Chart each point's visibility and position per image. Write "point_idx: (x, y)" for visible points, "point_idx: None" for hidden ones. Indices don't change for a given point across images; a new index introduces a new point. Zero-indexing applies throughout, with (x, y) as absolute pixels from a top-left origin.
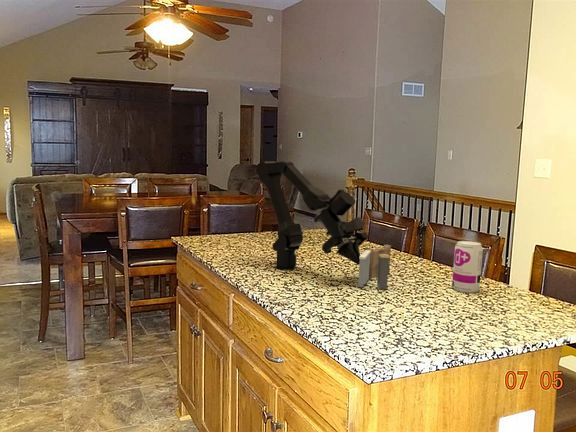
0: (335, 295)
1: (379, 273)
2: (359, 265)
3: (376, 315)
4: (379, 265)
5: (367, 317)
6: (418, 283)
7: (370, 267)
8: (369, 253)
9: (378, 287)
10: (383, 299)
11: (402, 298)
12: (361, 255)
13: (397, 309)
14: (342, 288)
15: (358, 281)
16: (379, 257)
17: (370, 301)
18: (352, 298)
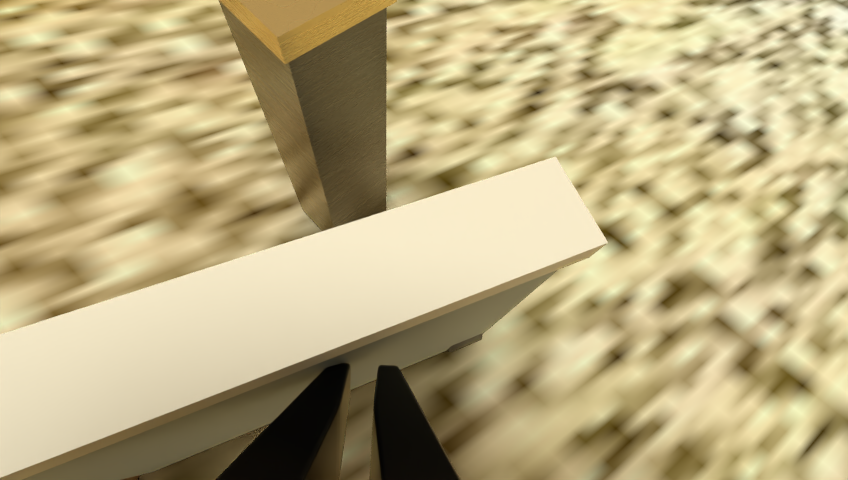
0: (764, 350)
1: (373, 156)
2: (538, 284)
3: (788, 39)
4: (352, 116)
5: (842, 53)
6: (20, 98)
7: None
8: (5, 348)
9: None
10: (563, 107)
11: (462, 51)
12: (485, 268)
13: (642, 12)
14: (582, 431)
15: (487, 329)
16: (320, 53)
17: (656, 138)
18: (706, 233)
